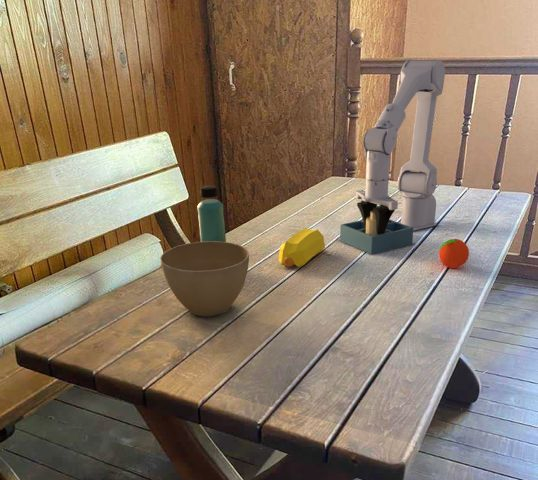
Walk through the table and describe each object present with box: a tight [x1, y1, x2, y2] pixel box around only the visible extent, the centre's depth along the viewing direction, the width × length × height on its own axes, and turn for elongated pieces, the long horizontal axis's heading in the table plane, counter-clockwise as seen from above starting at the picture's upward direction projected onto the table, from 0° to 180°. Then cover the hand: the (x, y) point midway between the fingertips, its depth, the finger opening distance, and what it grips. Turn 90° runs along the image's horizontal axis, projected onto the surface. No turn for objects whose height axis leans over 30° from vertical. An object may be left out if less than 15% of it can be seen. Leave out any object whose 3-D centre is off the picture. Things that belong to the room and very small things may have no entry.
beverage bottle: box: [196, 185, 227, 242], centre depth 142 cm, size 6×7×20 cm
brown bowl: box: [160, 241, 250, 317], centre depth 122 cm, size 18×18×12 cm
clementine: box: [438, 238, 470, 269], centre depth 139 cm, size 8×7×7 cm
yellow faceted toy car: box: [278, 227, 326, 268], centre depth 148 cm, size 18×7×8 cm
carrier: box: [339, 218, 414, 255], centre depth 158 cm, size 14×14×5 cm
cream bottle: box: [366, 211, 380, 236], centre depth 153 cm, size 4×5×8 cm
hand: (374, 231), depth 153 cm, fingers closed on cream bottle, 5 cm apart
